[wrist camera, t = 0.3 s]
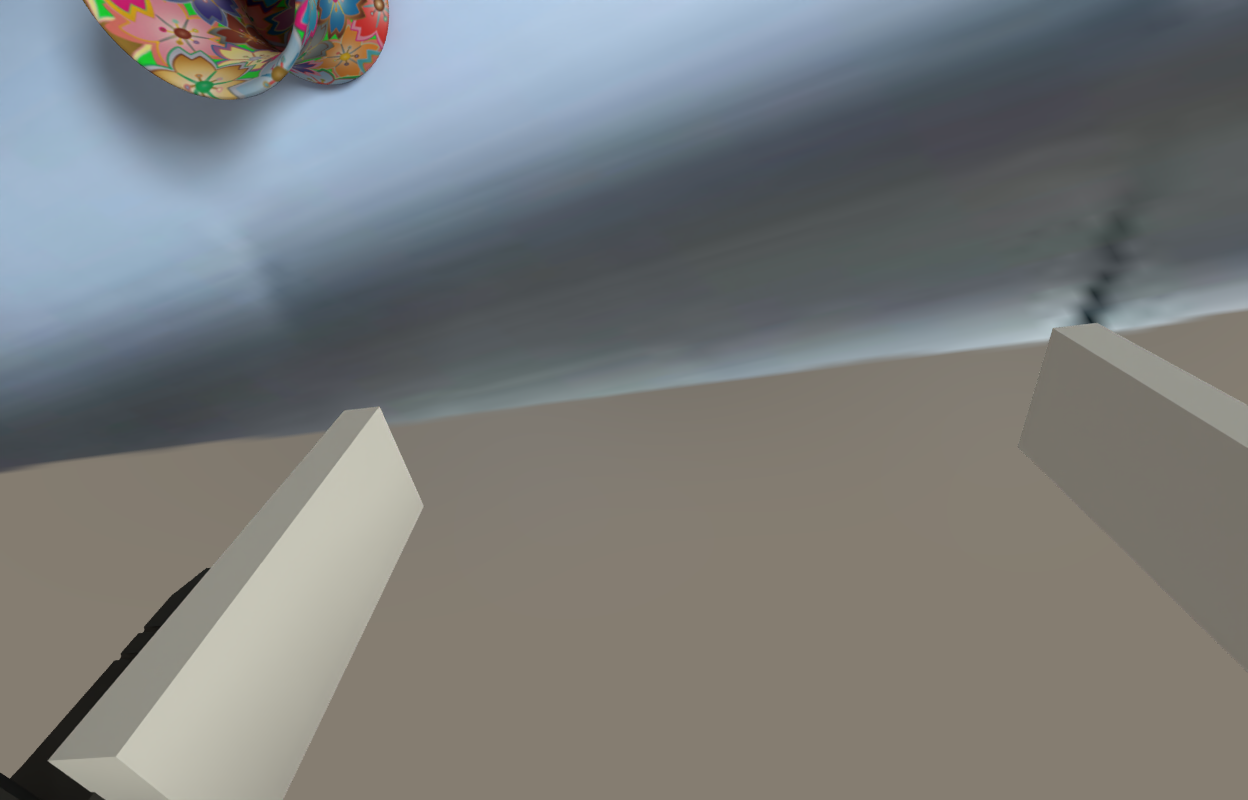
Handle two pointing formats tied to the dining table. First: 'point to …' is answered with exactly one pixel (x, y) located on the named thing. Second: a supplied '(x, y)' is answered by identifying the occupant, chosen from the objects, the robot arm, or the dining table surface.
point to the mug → (246, 40)
